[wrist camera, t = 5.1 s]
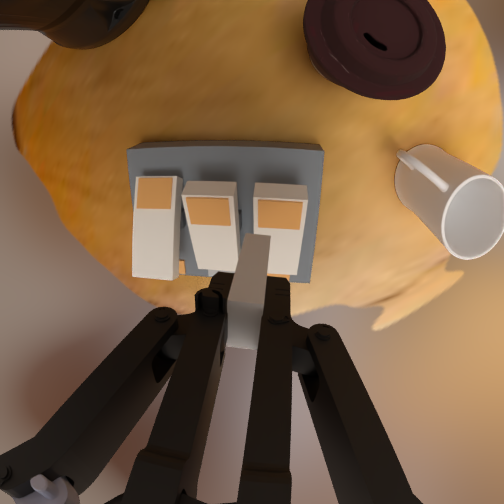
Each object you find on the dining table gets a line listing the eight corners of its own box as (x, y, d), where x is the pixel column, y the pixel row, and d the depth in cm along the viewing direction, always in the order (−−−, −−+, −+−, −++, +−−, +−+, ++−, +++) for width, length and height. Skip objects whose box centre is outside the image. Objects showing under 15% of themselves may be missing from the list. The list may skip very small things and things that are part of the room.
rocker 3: (255, 182, 26) (252, 198, 24) (306, 185, 25) (308, 201, 24) (255, 257, 33) (254, 274, 32) (296, 260, 33) (296, 276, 32)
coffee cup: (362, 3, 22) (414, -48, 9) (400, 82, 26) (477, 82, 13) (278, 29, 25) (276, -20, 12) (320, 109, 29) (350, 121, 16)
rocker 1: (144, 179, 30) (135, 176, 28) (183, 178, 30) (176, 175, 28) (140, 273, 31) (131, 276, 29) (178, 277, 31) (171, 280, 29)
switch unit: (142, 142, 32) (121, 151, 28) (319, 144, 31) (326, 153, 26) (154, 255, 40) (139, 276, 35) (307, 264, 38) (310, 289, 34)
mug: (359, 164, 31) (396, 200, 21) (405, 109, 28) (461, 121, 17) (423, 225, 34) (467, 278, 23) (465, 177, 30) (522, 215, 20)
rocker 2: (187, 180, 26) (180, 196, 25) (236, 181, 26) (233, 197, 24) (201, 254, 34) (197, 270, 32) (241, 256, 33) (238, 273, 32)
